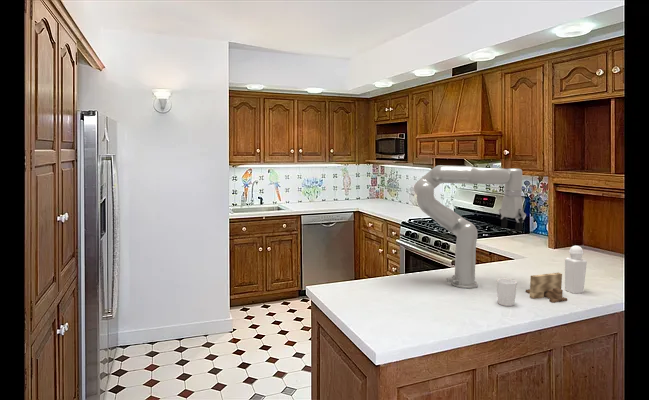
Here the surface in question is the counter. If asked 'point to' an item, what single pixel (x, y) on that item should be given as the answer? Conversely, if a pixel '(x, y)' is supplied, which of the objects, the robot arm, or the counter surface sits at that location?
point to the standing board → (553, 295)
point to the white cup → (506, 291)
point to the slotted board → (544, 284)
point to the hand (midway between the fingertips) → (511, 228)
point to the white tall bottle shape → (575, 270)
